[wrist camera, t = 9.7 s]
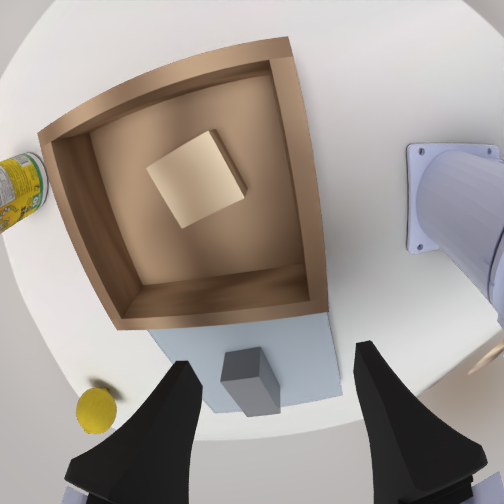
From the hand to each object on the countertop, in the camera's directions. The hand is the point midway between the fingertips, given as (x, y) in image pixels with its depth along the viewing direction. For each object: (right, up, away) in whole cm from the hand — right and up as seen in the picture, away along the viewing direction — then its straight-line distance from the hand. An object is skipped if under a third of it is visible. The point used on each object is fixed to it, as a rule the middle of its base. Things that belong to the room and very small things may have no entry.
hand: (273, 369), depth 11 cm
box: (-5, +9, +6) cm, 12 cm away
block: (-4, +10, +5) cm, 11 cm away
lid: (-1, -4, +13) cm, 14 cm away
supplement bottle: (-20, +11, +6) cm, 24 cm away
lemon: (-21, -14, +20) cm, 33 cm away
